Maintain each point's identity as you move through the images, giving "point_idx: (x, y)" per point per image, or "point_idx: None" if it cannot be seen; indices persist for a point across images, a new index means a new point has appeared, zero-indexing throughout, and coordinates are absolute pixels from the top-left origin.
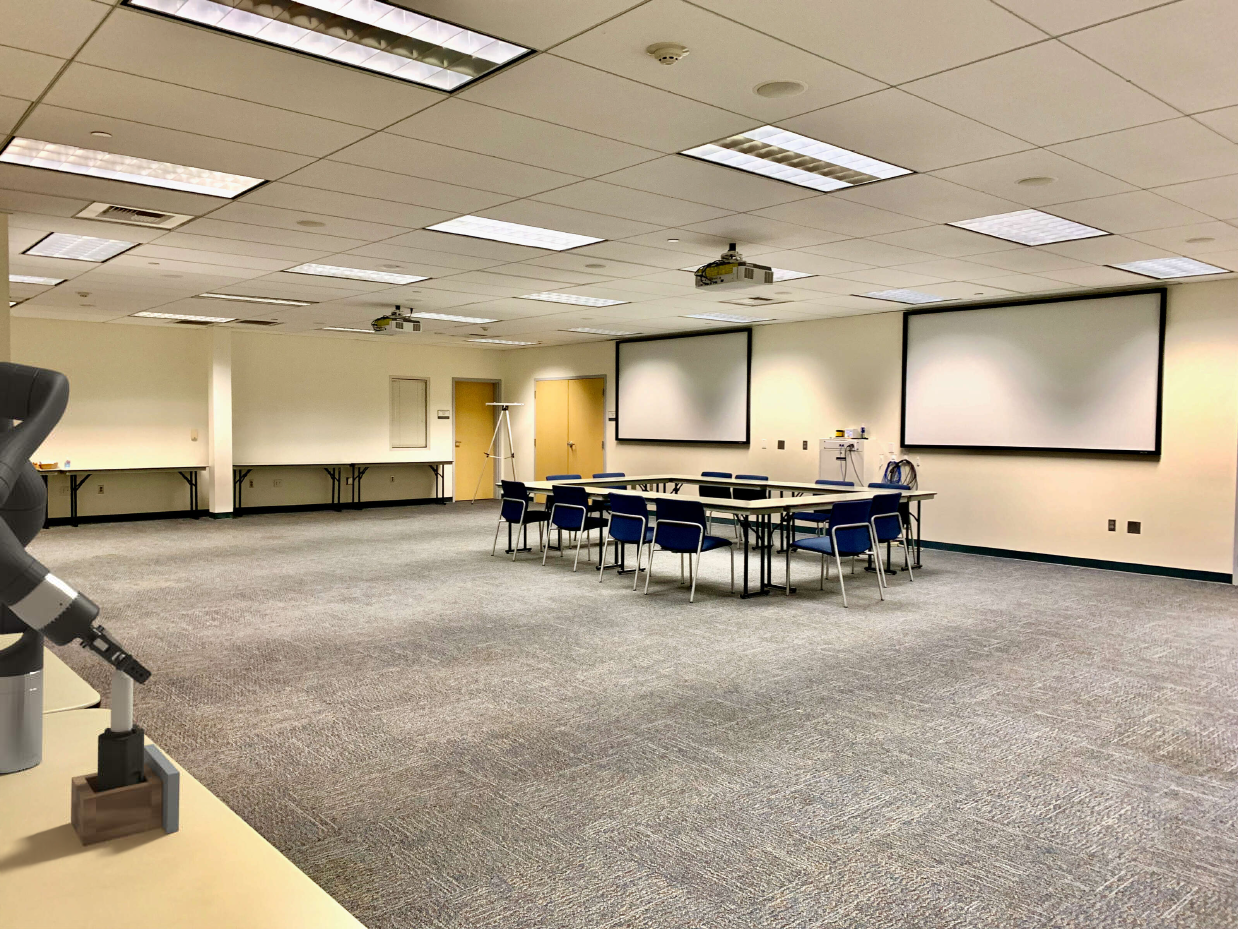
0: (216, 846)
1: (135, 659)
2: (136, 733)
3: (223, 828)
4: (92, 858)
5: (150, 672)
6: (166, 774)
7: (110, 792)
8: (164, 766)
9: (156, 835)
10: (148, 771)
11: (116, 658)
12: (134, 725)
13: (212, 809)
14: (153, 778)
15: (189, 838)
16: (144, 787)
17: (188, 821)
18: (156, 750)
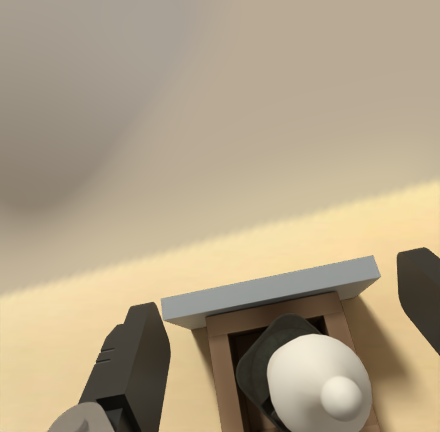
0: (429, 233)
1: (146, 315)
2: (317, 333)
3: (363, 221)
4: (419, 415)
5: (427, 250)
6: (364, 280)
7: None
8: (323, 282)
9: (355, 313)
10: (260, 314)
11: (148, 423)
12: (280, 337)
13: (281, 231)
14: (308, 306)
15: (385, 267)
16: (347, 324)
17: (315, 266)
18: (208, 294)
